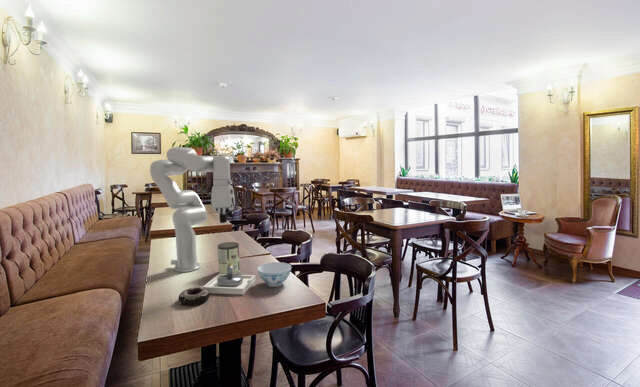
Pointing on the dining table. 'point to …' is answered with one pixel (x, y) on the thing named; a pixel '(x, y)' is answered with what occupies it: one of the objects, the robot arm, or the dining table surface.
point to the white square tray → (239, 289)
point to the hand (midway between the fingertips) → (223, 222)
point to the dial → (230, 278)
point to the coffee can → (228, 257)
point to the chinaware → (274, 273)
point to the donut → (193, 296)
